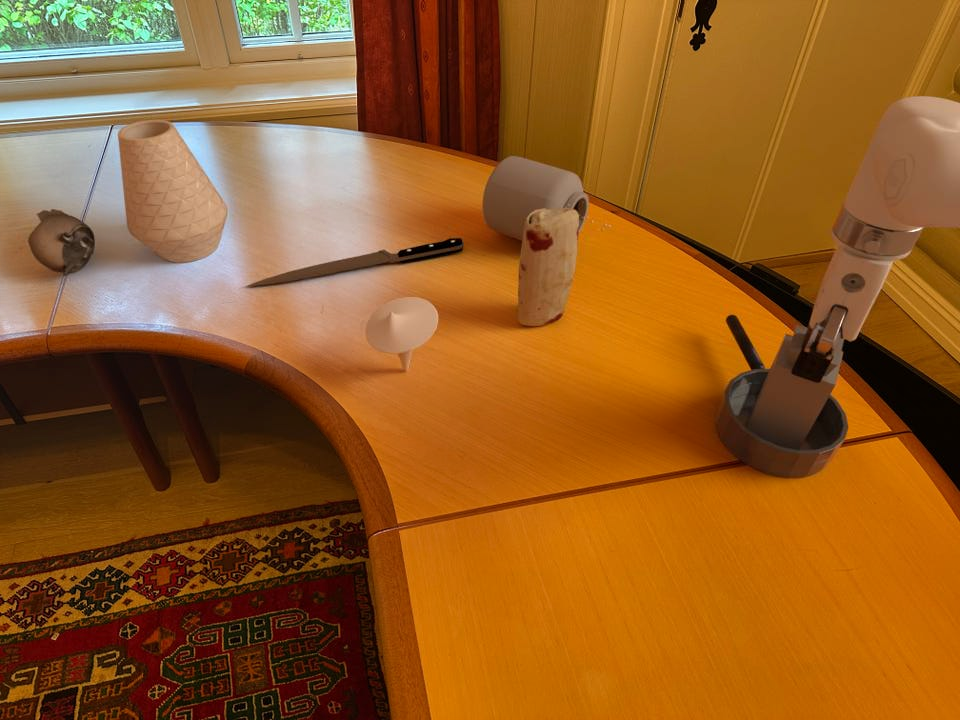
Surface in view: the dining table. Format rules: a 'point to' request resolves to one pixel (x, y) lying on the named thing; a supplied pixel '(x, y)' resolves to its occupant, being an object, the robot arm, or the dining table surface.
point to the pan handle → (744, 343)
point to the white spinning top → (401, 327)
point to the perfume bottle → (792, 394)
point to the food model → (547, 265)
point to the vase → (168, 193)
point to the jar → (529, 194)
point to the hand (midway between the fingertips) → (812, 353)
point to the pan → (767, 455)
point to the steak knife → (370, 261)
